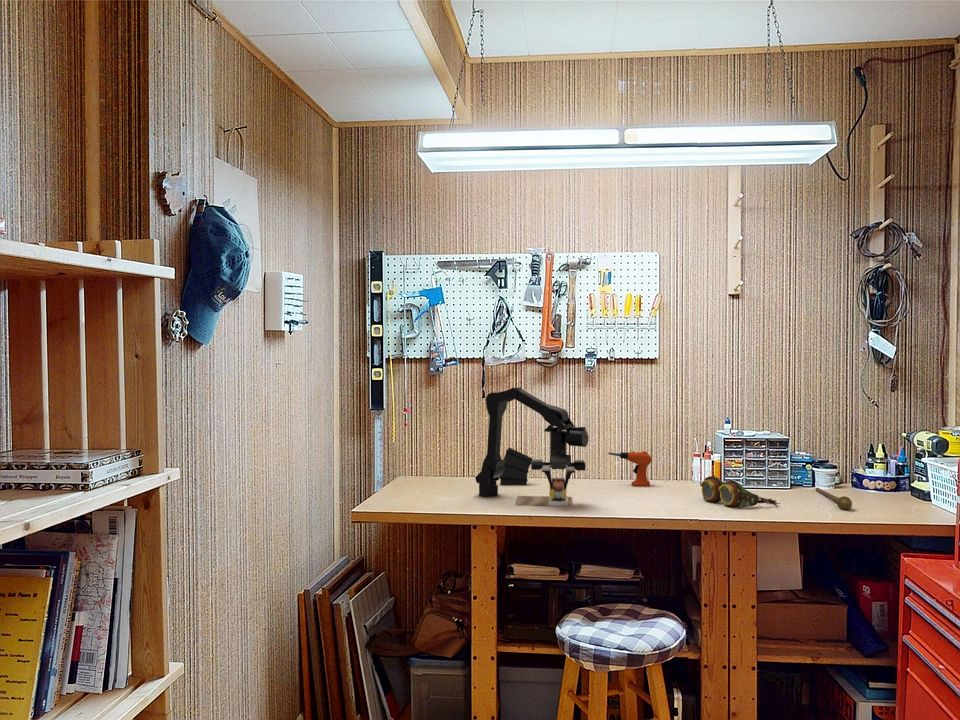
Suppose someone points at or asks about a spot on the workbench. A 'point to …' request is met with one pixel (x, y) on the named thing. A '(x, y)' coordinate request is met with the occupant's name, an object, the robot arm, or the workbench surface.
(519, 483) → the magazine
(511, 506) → the workbench surface
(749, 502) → the goggles
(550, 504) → the frame
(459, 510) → the workbench surface
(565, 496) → the block
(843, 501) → the ball headed mace
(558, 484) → the copper and grey cylinder
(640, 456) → the toy drill
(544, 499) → the plywood board
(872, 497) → the workbench surface
